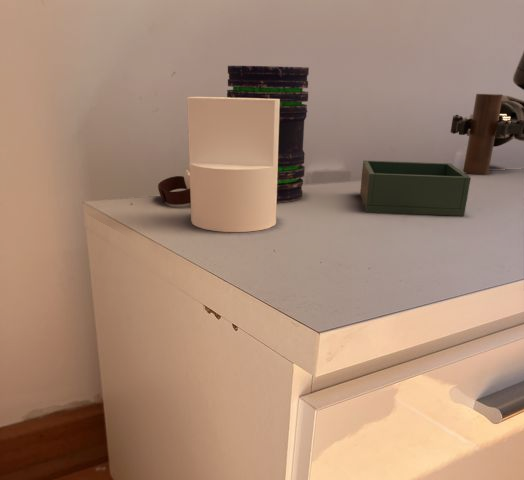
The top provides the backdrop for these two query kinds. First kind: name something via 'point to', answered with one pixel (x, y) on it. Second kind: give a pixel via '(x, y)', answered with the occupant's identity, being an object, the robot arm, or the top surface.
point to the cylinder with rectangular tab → (233, 162)
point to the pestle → (482, 133)
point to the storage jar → (290, 116)
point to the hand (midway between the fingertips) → (480, 128)
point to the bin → (414, 188)
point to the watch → (174, 184)
